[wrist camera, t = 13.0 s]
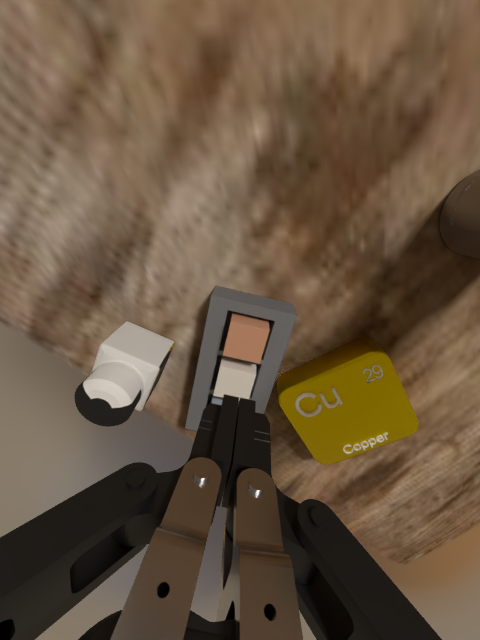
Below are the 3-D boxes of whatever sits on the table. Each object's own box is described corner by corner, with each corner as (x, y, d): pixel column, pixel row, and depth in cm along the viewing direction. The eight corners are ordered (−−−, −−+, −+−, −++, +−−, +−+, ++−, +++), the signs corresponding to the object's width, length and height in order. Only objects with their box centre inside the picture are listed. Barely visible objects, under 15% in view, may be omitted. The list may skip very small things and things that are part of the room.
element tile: (315, 446, 45) (321, 472, 41) (270, 377, 40) (272, 398, 36) (408, 411, 41) (426, 435, 37) (371, 330, 37) (386, 348, 33)
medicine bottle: (159, 379, 41) (123, 444, 30) (112, 360, 40) (58, 419, 29) (175, 341, 39) (143, 395, 27) (126, 319, 38) (73, 367, 27)
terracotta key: (268, 318, 34) (269, 330, 31) (259, 349, 36) (259, 363, 32) (233, 310, 34) (230, 321, 31) (225, 341, 36) (222, 355, 32)
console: (292, 303, 36) (296, 315, 32) (254, 422, 43) (254, 443, 39) (215, 285, 35) (211, 295, 31) (190, 409, 43) (184, 428, 39)
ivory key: (256, 359, 36) (256, 374, 33) (248, 386, 38) (247, 403, 35) (223, 351, 36) (220, 366, 33) (216, 379, 38) (213, 395, 35)
